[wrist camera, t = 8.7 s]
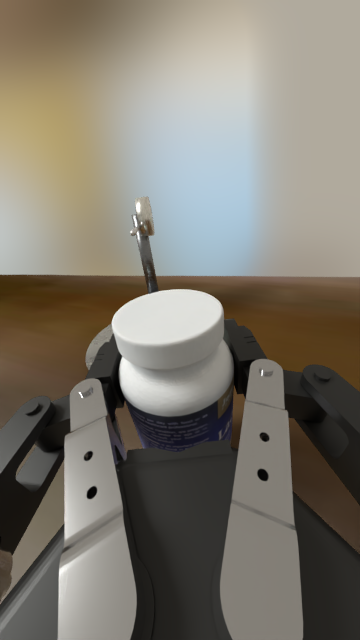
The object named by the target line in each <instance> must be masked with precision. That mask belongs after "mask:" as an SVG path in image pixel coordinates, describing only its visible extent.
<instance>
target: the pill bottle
mask: <svg viewBox="0 0 360 640" xmlns="http://www.w3.org/2000/svg"><path fill="white" fill-rule="evenodd" d="M112 329H113V333H114V336H115V339H116V343H117V347H118V350H119V352H120V354H121V355H122V359H121V361H120V365H119V383H120V387H121V390H122V393H123V396H124V399H125V401H126V404H127V406H128V409H129V412H130V414H131V417H132V419H133V422H134V425H135V427H136V430H137V432H138V435H139V438H140V440H141V443H142V446H143V448H157V449H163V450H168V451H173V452H181V451H183V450H186V449H188V448H191V447H193V446H196V445H198V444H201V443H203V442H209V441H219V440H228V439H229V441H230V445H231V436H232V413H233V389H234V361H233V356H232V353H231V351H230V349H229V347H228V345H227V344H226V342H225V341H224V340H223V336H224V312H223V307H222V305H221V303H220V302H219V301H218V300H217V299H216V298H214V297H213V296H211V295H209V294H207V293H204V292H199V291H195V290H183V289H179V290H165V291H159V292H155V293H151V294H147V295H144V296H141V297H139V298H136V299H134V300H132V301H130V302H128V303H127V304H125V305H124V306H123V307H121V308H120V309H119V310H118V311H117V312H116V314H115V315H114V317H113V320H112Z"/></svg>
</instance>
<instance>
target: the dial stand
mask: <svg viewBox="0 0 360 640" xmlns="http://www.w3.org/2000/svg"><path fill="white" fill-rule="evenodd" d="M135 205H136V213H137V214H136V215H132V219H133V224H134V229H133V230H132V231H131V232H130V233H131V235H132V236H134V235H136V238H137V242H138V247H139V251H140V256H141V261H142V265H143V270H144V274H145V279H146V284H147V288H148V293H149V294H151V293H155V292H159V290H158V285H157V280H156V274H155V269H154V264H153V259H152V253H151V248H150V242H149V237H148V236H152V235H154V224H153V217H152V212H151V206H150V202H149V199H148V197H141V198H136V199H135Z"/></svg>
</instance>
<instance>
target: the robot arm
mask: <svg viewBox="0 0 360 640" xmlns="http://www.w3.org/2000/svg"><path fill="white" fill-rule="evenodd" d="M223 340H224V341H225V342H226V344H227V345H228V347H229V349H230V351H231V353H232V356H233V361H234V386H235V389H236V392H237V394H244V396H245V399H246V400H245V406H244V413H243V421H242V428H241V435H240V442H239V449H236V448H231V445H230V441H229V439H228V440H219V441H209V442H203V443H201V444H198V445H196V446H193V447H191V448H188V449H186V450H183V451H181V452H173V451H168V450H163V449H157V448H144V449H135V450H128V451H127V454H126V451H125V447H124V443H123V439H122V436H121V432H120V428H119V424H118V420H117V416H116V414H115V410H116V408H122V407H123V406H124V401H125V399H124V396H123V393H122V390H121V387H120V383H119V365H120V361H121V359H122V355H121V354H120V352H119V350H118V347H117V343H116V339H115V336H114V333H113V334H112V336H111V339H110V341H109V342H105V343H104V344H103V345H102V346H101V347H100V348H99V350H98V352H97V354H96V356H95V359H94V361H93V363H92V365H91V367H90V370H89V372H88V374H87V376H86V378H85V380H84V381H82V382H80V383H78V384H77V385H76V386H75V387H74V388H73V389H72V391H71V393H70V395H68V396H65V397H63V398H60V399H57V400H54V401H51V400H50V399H49V398H48V397H47V396H39V397H36V398H33V399H31V400H29V401H28V402H26V403H25V404H24V405H22V406H21V407H20V408H19V409H18V411H17V412H16V413H15V414H14V415H13V416H12V418H11V419H10V420H9V421H8V422H7V423H6V424H5V426H4V427H3V428H2V429H1V430H0V601H1V599H2V598H3V597H4V595H5V594H6V592H7V591H8V589H9V587H10V584H11V579H12V577H11V570H12V563H13V560H12V555H13V553H14V551H15V549H16V548H17V546H18V544H19V542H20V540H21V538H22V536H23V535H24V533H25V531H26V529H27V527H28V525H29V523H30V522H31V520H32V518H33V516H34V514H35V512H36V510H37V509H38V507H39V505H40V503H41V501H42V499H43V497H44V495H45V494H46V492H47V490H48V488H49V486H50V484H51V482H52V481H53V479H54V477H55V475H56V473H57V471H58V469H59V468H60V466H61V464H62V462H63V460H64V458H65V523H64V525H63V526H62V527H61V528H60V530H59V531H58V532H57V533H56V535H55V536H54V537H53V538H52V540H51V541H50V542H49V543H48V545H47V546H46V547H45V549H44V550H43V551H42V552H41V554H40V555H39V556H38V557H37V559H36V560H35V561H34V562H33V564H32V565H31V566H30V567H29V569H28V570H27V571H26V573H25V574H24V575H23V576H22V578H21V579H20V580H19V581H18V583H17V584H16V585H15V586H14V588H13V589H12V590H11V591H10V593H9V594H8V595H7V597H6V598H5V599H4V600H3V602H2V603H1V604H0V640H360V554H359V553H358V552H357V551H356V550H355V549H353V548H352V547H351V546H350V545H349V544H348V543H347V542H346V541H345V540H344V539H343V538H342V537H341V536H340V535H339V534H338V533H336V532H335V531H334V530H333V529H332V528H331V527H330V526H329V525H328V524H327V523H326V522H325V521H324V520H323V519H322V518H321V517H320V516H318V515H317V514H316V513H315V512H314V511H313V510H312V509H311V508H310V507H309V506H308V505H307V504H306V503H305V502H304V501H303V500H301V499H300V498H299V497H298V496H297V495H296V494H295V493H294V492H293V491H292V476H291V457H290V439H289V421H288V417H289V418H294V419H295V420H296V422H297V423H298V424H299V425H300V427H301V428H302V429H303V431H304V432H305V433H306V435H307V436H308V437H309V439H310V440H311V441H312V443H313V444H314V445H315V447H316V448H317V449H318V451H319V452H320V453H321V455H322V456H323V457H324V459H325V460H326V461H327V463H328V464H329V465H330V467H331V468H332V469H333V470H334V472H335V473H336V474H337V476H338V477H339V478H340V480H341V481H342V482H343V484H344V485H345V486H346V488H347V489H348V490H349V492H350V493H351V494H352V496H353V497H354V498H355V500H356V501H357V502H358V504H359V505H360V392H359V391H358V390H356V389H355V388H354V387H353V386H352V385H350V384H349V383H348V382H347V381H346V380H344V379H343V378H342V377H341V376H340V375H338V374H337V373H336V372H335V371H333V370H332V369H330V368H328V367H325V366H321V365H309V366H306V367H305V368H304V370H303V373H301V372H294V371H287V370H282V368H281V367H280V366H279V365H278V364H277V363H276V362H274V361H271V360H268V359H267V357H266V356H265V354H264V352H263V351H262V349H261V347H260V346H259V344H258V342H257V341H256V339H255V337H254V336H253V334H252V332H251V331H250V330H249V329H248V328H246V327H245V326H238V325H237V323H236V322H235V320H234V319H226V320H224V336H223ZM34 444H35V445H36V448H35V449H34V451H33V452H32V454H31V455H30V457H29V458H28V460H27V461H26V463H25V464H24V466H23V467H22V469H21V470H20V472H19V473H18V475H17V476H16V471H17V469H18V467H19V465H20V464H21V462H22V461H23V459H24V458H25V456H26V455H27V453H28V452H29V450H30V449H31V448H32V446H33V445H34Z"/></svg>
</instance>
